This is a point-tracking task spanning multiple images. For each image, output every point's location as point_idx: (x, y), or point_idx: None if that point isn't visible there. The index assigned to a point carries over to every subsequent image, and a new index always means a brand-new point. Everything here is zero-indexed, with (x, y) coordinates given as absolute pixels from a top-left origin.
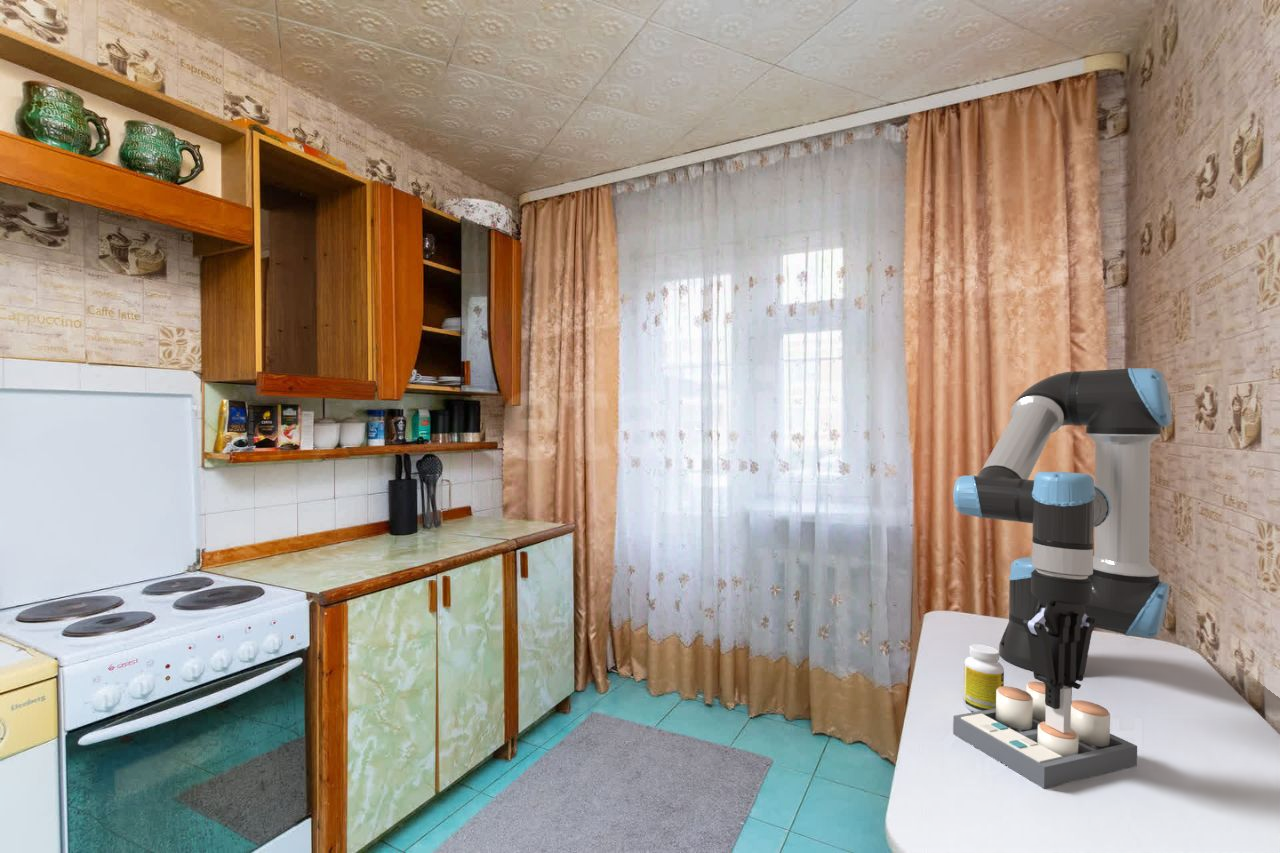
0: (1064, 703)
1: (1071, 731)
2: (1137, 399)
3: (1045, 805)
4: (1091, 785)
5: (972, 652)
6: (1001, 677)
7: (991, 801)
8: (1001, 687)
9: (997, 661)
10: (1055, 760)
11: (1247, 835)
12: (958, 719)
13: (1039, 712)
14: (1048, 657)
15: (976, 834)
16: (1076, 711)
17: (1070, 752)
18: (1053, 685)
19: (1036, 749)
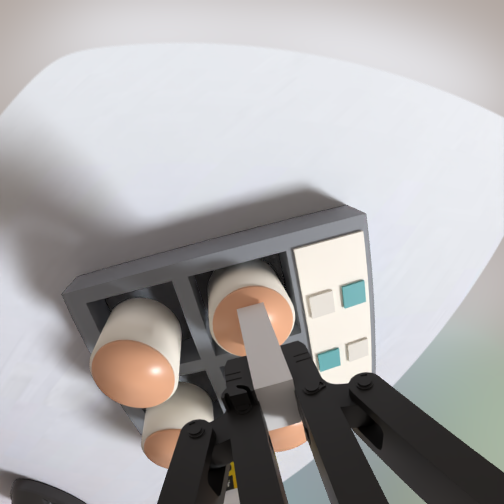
0: (279, 348)
1: (225, 314)
2: None
3: (382, 160)
4: (236, 211)
5: None
6: (232, 482)
7: (448, 182)
8: (293, 446)
9: None
10: (319, 237)
11: (73, 66)
12: None
13: (205, 403)
14: (443, 442)
15: (496, 127)
16: (176, 368)
17: (251, 270)
18: (356, 375)
19: (329, 276)
